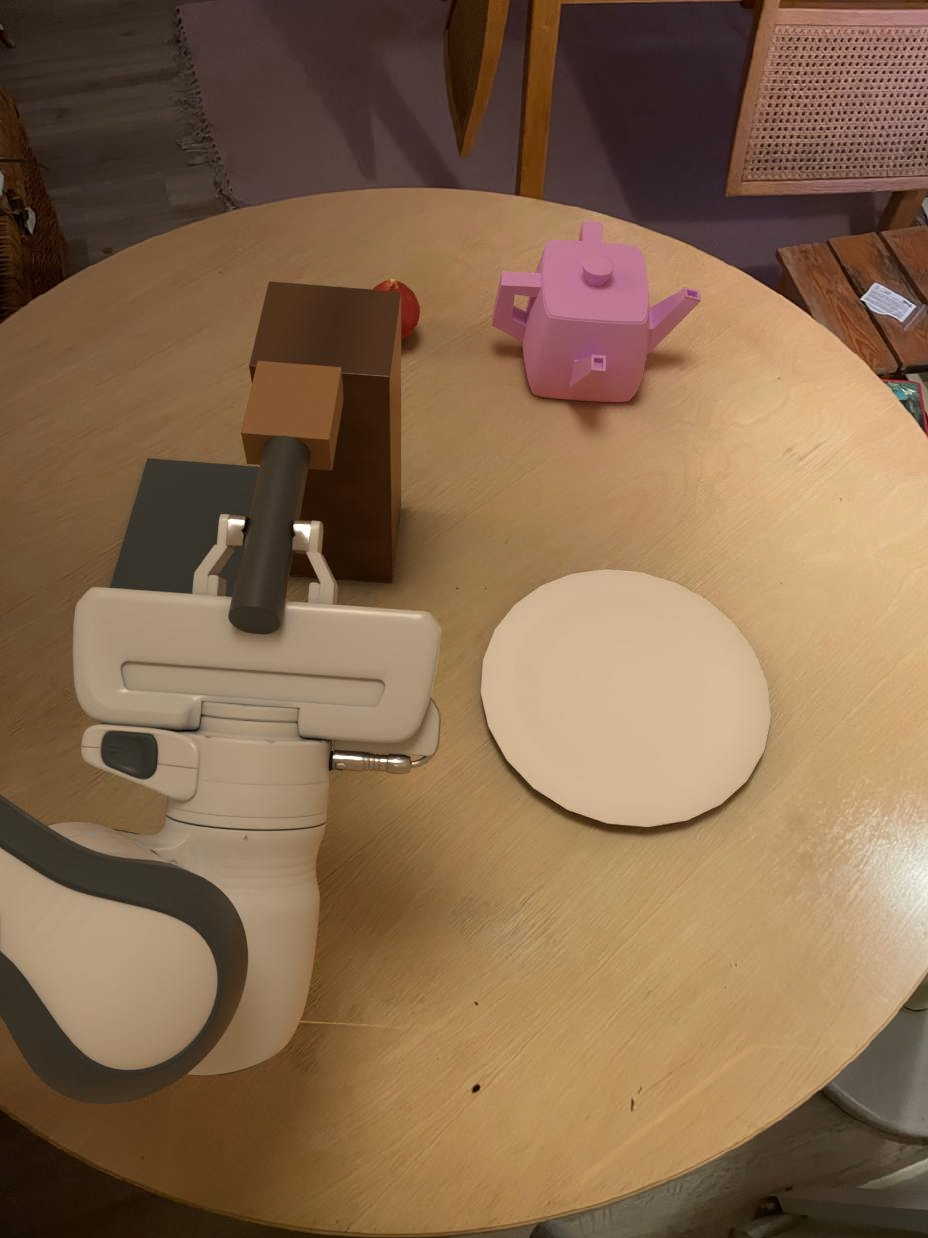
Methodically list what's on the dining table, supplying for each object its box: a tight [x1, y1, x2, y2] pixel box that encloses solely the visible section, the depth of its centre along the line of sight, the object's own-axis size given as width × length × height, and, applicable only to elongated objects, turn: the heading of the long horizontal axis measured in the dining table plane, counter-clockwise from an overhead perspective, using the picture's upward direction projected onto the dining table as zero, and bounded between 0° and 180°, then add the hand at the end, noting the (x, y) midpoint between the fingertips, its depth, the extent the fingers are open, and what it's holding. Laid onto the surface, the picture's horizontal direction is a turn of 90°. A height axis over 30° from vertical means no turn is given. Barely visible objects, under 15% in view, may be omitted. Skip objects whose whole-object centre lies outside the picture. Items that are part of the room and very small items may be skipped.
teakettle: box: [491, 220, 702, 403], centre depth 107 cm, size 17×17×12 cm
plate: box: [480, 568, 772, 829], centre depth 89 cm, size 25×25×2 cm
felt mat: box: [109, 457, 260, 597], centre depth 96 cm, size 12×20×1 cm, turn 177°
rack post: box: [248, 280, 402, 584], centre depth 87 cm, size 10×9×26 cm
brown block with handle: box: [228, 361, 344, 634], centre depth 60 cm, size 18×5×3 cm, turn 177°
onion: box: [372, 278, 421, 340], centre depth 109 cm, size 6×6×8 cm
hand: (271, 518), depth 59 cm, fingers closed on brown block with handle, 3 cm apart
